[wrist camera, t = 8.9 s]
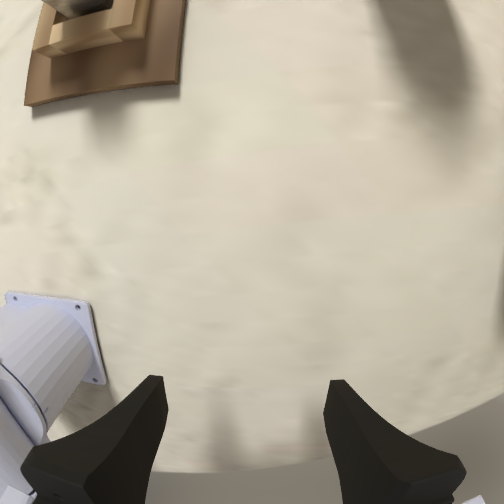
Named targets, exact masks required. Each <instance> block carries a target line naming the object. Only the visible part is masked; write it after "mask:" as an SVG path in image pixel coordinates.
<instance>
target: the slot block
mask: <svg viewBox="0 0 504 504" xmlns="http://www.w3.org/2000/svg"><path fill="white" fill-rule="evenodd" d="M185 5H186V0H114V2H113V7H112V9H108V10H104V11H100V12H96V13H92V14H88V15H85V16H81V17H78V18H74V19H71V20H70V19H69V18H67V17H66V16H64V15H63V14H61V13H60V12H58V11H57V10H55V9H54V8H52V7H51V6H49V5H48V4H46V3H45V2H44V3H43V6H42V10H41V14H40V17H39V21H38V25H37V29H36V34H35V38H34V43H33V48H32V53H31V58H30V64H29V70H28V76H27V83H26V91H25V100H24V105H25V106H30V107H32V106H36V105H40V104H44V103H48V102H53V101H57V100H62V99H66V98H71V97H76V96H82V95H87V94H93V93H99V92H105V91H112V90H119V89H127V88H135V87H144V86H155V85H167V84H178V76H179V63H180V51H181V41H182V31H183V22H184V13H185Z"/></svg>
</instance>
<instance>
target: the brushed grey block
mask: <svg viewBox="0 0 504 504" xmlns="http://www.w3.org/2000/svg"><path fill="white" fill-rule="evenodd" d="M42 1H43V2H45V3H46V4H48V5H49V6H51V7H52V8H54V9H55V10H57V11H58V12H60V13H61V14H63V15H64V16H66V17H67V18H69V19H70V20H71V19H74V18H78V17H81V16H85V15H88V14H92V13H96V12H100V11H104V10H108V9H112V7H113V2H114V0H42Z"/></svg>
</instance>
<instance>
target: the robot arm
mask: <svg viewBox="0 0 504 504" xmlns="http://www.w3.org/2000/svg"><path fill="white" fill-rule="evenodd" d="M16 297H17V298H16ZM5 299H6V304H5V305H3V306H2V307H1V308H0V504H145V498H146V492H147V487H148V481H149V476H150V472H151V468H152V465H153V462H154V459H155V456H156V453H157V450H158V447H159V444H160V441H161V438H162V435H163V432H164V429H165V425H166V420H167V415H168V404H167V399H166V393H165V387H164V381H163V376H155V375H149V376H148V377H147V378H146V379H145V380H144V381H143V382H142V383H141V384H140V385H139V386H138V387H136V388H135V389H134V390H133V391H132V392H131V393H130V394H129V395H128V396H127V397H126V398H125V399H124V400H123V401H122V402H120V403H119V404H118V405H117V406H116V407H114V408H113V409H112V410H111V411H109V412H108V413H107V414H105V415H104V416H103V417H101V418H100V419H98V420H97V421H95V422H94V423H92V424H90V425H89V426H87V427H85V428H83V429H81V430H79V431H77V432H75V433H73V434H71V435H68V436H66V437H63V438H61V439H58V440H55V441H52V442H51V441H50V440H49V438H48V436H47V432H48V430H49V429H50V427H51V426H52V424H53V423H54V421H55V419H56V418H57V416H58V415H59V413H60V412H61V410H62V409H63V407H64V406H65V404H66V403H67V401H68V400H69V398H70V397H71V395H72V394H73V392H74V391H75V389H76V388H77V386H78V385H79V383H80V382H81V381H82V382H87V383H92V384H97V385H105V383H106V382H107V380H106V376H105V372H104V368H103V364H102V360H101V356H100V352H99V347H98V343H97V338H96V334H95V329H94V324H93V318H92V313H91V307H90V305H89V303H88V302H86V301H83V300H74V299H65V298H57V297H48V296H41V295H33V294H26V293H19V292H12V291H8V292H6V293H5ZM77 305H79V306H80V308H81V309H80V308H78V306H77ZM95 378H96V379H97V380H96V379H95ZM323 415H324V422H325V428H326V433H327V437H328V440H329V444H330V447H331V450H332V454H333V457H334V460H335V464H336V467H337V470H338V474H339V479H340V485H341V492H342V499H343V504H452V502H454V497H453V495H452V493H453V492H454V491H455V490H456V488H457V487H458V486H459V485H460V484H461V482H462V481H463V480H464V478H465V476H466V470H465V468H464V466H463V464H462V462H461V461H460V459H459V458H458V457H457V456H456V455H453V454H450V453H447V452H443V451H440V450H437V449H435V448H432V447H429V446H428V445H425V444H423V443H420V442H419V441H417V440H415V439H413V438H411V437H410V436H408V435H406V434H404V433H403V432H401V431H400V430H398V429H397V428H395V427H394V426H393V425H391V424H390V423H388V422H387V421H386V420H385V419H383V418H382V417H381V416H380V415H379V414H377V413H376V412H375V411H374V410H373V409H372V408H371V407H370V406H369V405H368V404H367V403H366V402H365V401H364V400H363V399H362V398H361V397H360V396H359V395H358V394H357V393H356V392H355V391H354V390H353V389H352V388H351V387H350V385H349V384H348V383H347V382H346V381H345V380H344V379H343V380H330V385H329V390H328V394H327V399H326V403H325V408H324V412H323ZM461 504H485V502H484V500H483V498H482V496H481V495H478V496H476V497H475V498H472V499H470V500H468V501H466V502H463V503H461Z"/></svg>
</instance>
